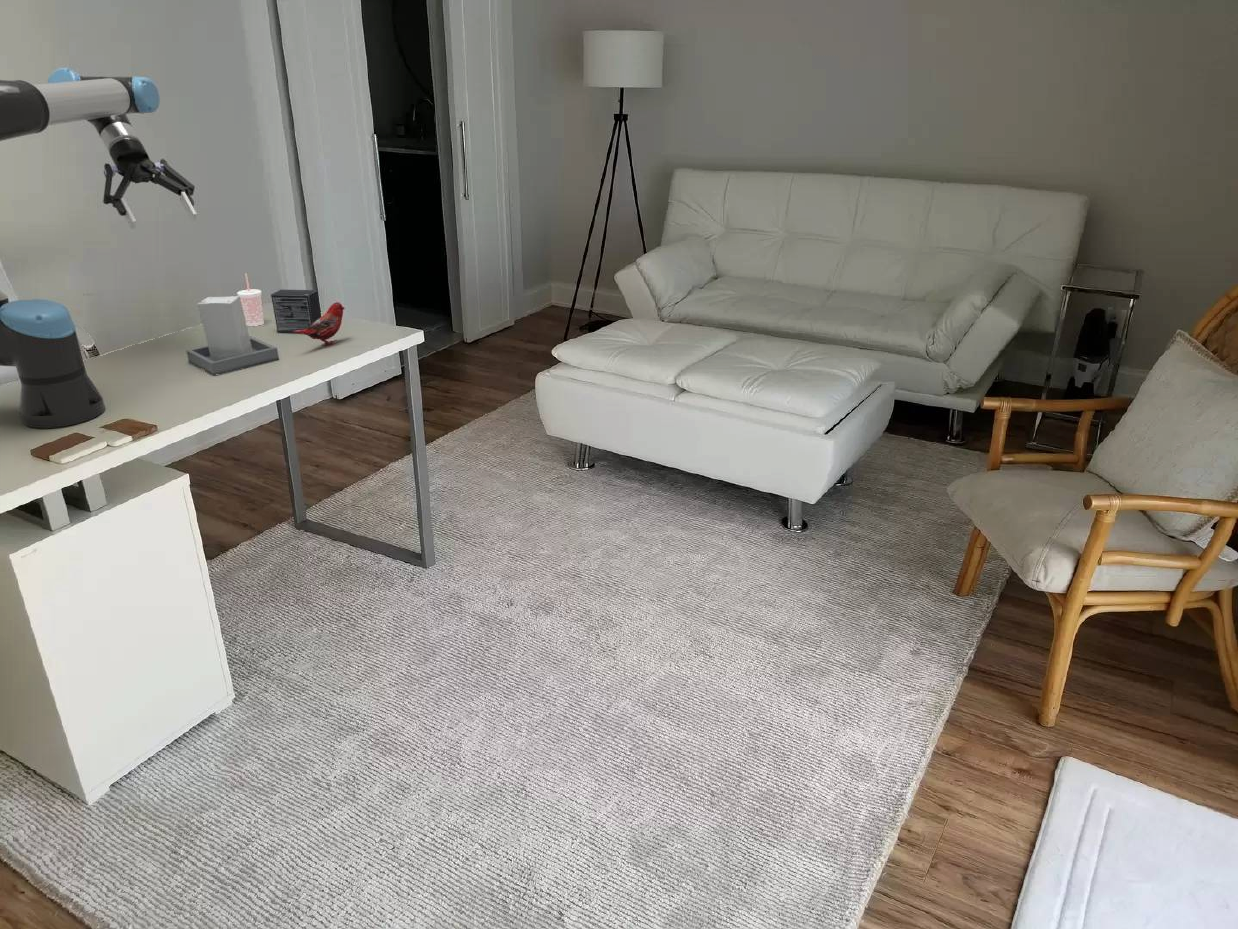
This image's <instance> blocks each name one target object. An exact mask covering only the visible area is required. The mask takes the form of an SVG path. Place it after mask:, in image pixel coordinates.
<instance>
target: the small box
mask: <svg viewBox="0 0 1238 929" xmlns="http://www.w3.org/2000/svg"><path fill="white" fill-rule="evenodd" d="M270 296H271V303H272V308H273V313H274V319H275V325H276V333H278V334H293V333H292V331H298V330H305V329H308V328H309V326H310V325H312V324H313V323H314V322H315V321H316V320H318V319H319V318H321V317H322V313H321V306H320V305H321V304H320V299H319V292H318V290H317V289H279V290H277V291H275V292H273V293H271V294H270Z"/></svg>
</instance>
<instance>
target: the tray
mask: <svg viewBox="0 0 1238 929" xmlns="http://www.w3.org/2000/svg"><path fill="white" fill-rule="evenodd" d="M249 338H250V342H251V346H252V350H253V352H252V353H248V354H244V355H239V356H235V357H231V358H227V359H223V360H218V361H212V360H211V356H210V352H209V348H208V345H204V346H199V347H195V348H191V349H186V355H187V360H188V363H189V362H191V363H192V364H191V363H190V364H191V365H193V364H194V365H193V366H195V367H197V368H198V369H201V368H202V369H204V370H205V371H204V370H203V371H204V372H206V371H207V372H206V373H208V374H209V375H212V374H213V375H212V376H214V375H216V374H220V375H223V373H224V374H228V373H230V372H231V371H232V372H235V371H234V370H236V371H239V370H238V369H240V370H242V369H241V368H244V369H247V368H252V367H255V366H259V365H263V363H264V364H267V362H268V363H271V362H275V361H279V360H280V359H279V358H280V357H279V352H278V347H275V346H273V345H272V344H269V343H267V342H265V341H262V340H260V339H258V338H256V337H253V336H251V335H249ZM202 369H201V370H202ZM227 372H228V373H227ZM216 376H217V375H216Z"/></svg>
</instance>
